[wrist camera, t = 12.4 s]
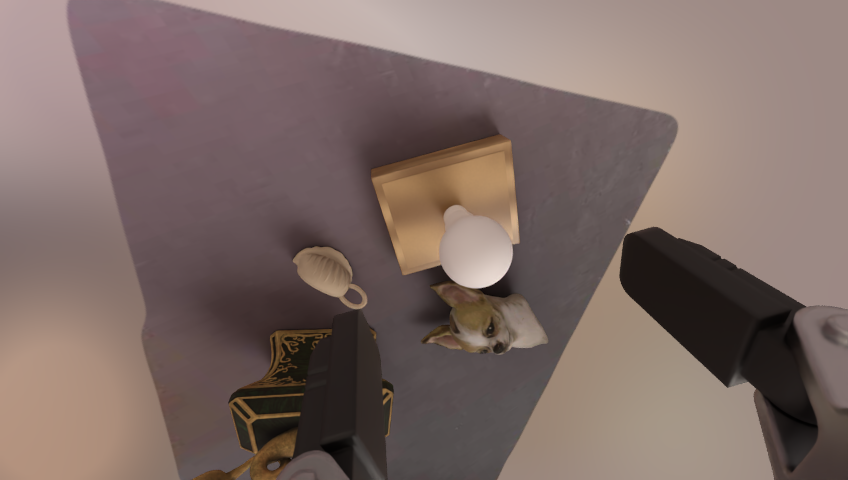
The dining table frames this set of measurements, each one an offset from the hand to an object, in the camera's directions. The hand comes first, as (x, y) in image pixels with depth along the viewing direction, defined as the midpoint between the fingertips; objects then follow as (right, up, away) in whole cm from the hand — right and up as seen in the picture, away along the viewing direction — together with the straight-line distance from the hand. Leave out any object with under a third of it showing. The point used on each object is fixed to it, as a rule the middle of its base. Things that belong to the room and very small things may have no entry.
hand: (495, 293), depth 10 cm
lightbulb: (+1, +5, +25) cm, 25 cm away
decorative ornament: (-13, -1, +29) cm, 32 cm away
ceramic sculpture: (+5, -7, +36) cm, 37 cm away
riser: (0, +6, +27) cm, 28 cm away
